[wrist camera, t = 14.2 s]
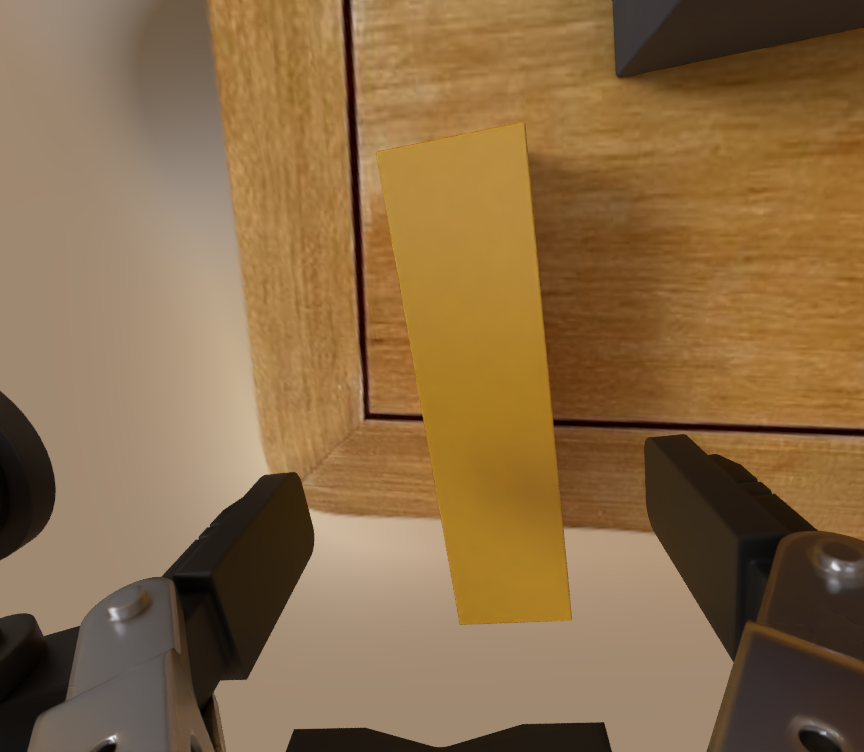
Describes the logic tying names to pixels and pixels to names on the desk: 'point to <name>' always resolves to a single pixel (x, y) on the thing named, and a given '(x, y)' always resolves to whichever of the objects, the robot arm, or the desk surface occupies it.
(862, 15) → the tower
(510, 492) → the bar
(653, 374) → the desk surface
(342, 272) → the desk surface
